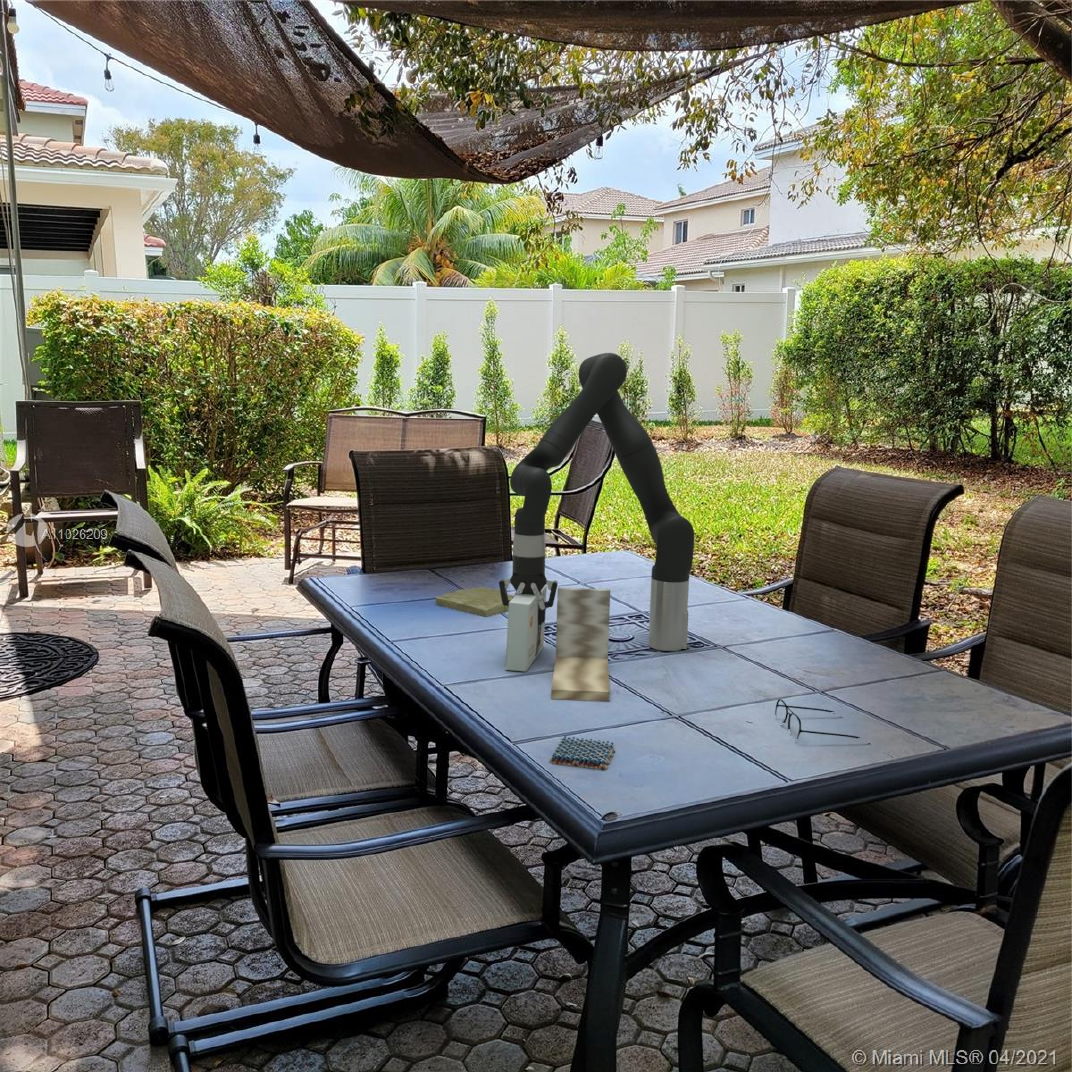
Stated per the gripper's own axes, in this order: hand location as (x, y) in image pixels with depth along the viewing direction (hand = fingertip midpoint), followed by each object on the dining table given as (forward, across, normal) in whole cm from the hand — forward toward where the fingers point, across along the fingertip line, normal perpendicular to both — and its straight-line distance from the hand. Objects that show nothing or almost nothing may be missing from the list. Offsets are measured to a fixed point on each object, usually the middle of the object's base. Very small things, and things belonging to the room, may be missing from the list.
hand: (527, 623), depth 231 cm
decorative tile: (+9, +16, -50) cm, 53 cm away
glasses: (+9, -60, +39) cm, 72 cm away
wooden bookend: (+9, -13, +15) cm, 22 cm away
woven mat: (+9, -14, +57) cm, 59 cm away
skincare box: (+9, 0, 0) cm, 9 cm away
